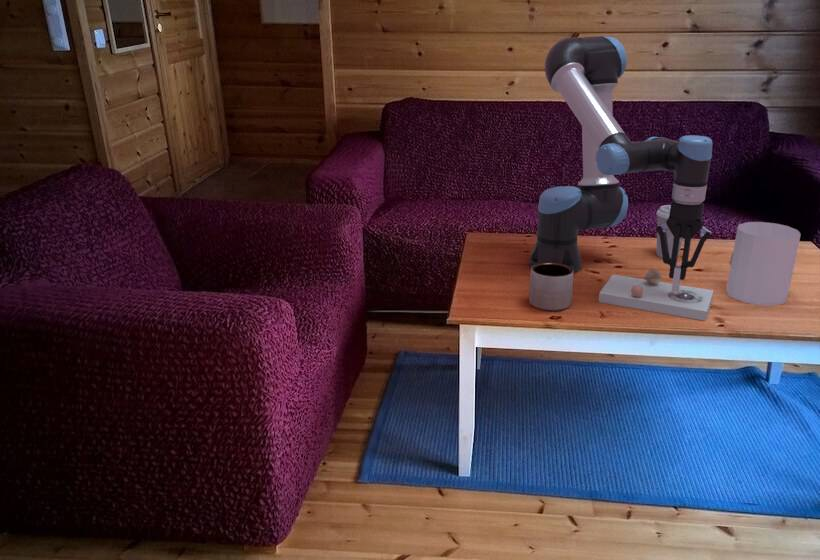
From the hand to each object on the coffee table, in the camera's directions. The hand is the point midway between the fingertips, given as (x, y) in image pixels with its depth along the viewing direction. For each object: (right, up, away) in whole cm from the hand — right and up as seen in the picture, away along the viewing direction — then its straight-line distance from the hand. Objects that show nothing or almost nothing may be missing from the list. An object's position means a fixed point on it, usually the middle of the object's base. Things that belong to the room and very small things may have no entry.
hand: (675, 290), depth 172 cm
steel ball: (+2, -2, 0) cm, 3 cm away
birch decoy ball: (-3, +4, +7) cm, 8 cm away
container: (+24, -1, +6) cm, 25 cm away
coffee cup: (+12, +10, +36) cm, 39 cm away
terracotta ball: (-10, 0, -1) cm, 10 cm away
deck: (-4, -3, +3) cm, 6 cm away
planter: (-32, -4, +3) cm, 32 cm away
